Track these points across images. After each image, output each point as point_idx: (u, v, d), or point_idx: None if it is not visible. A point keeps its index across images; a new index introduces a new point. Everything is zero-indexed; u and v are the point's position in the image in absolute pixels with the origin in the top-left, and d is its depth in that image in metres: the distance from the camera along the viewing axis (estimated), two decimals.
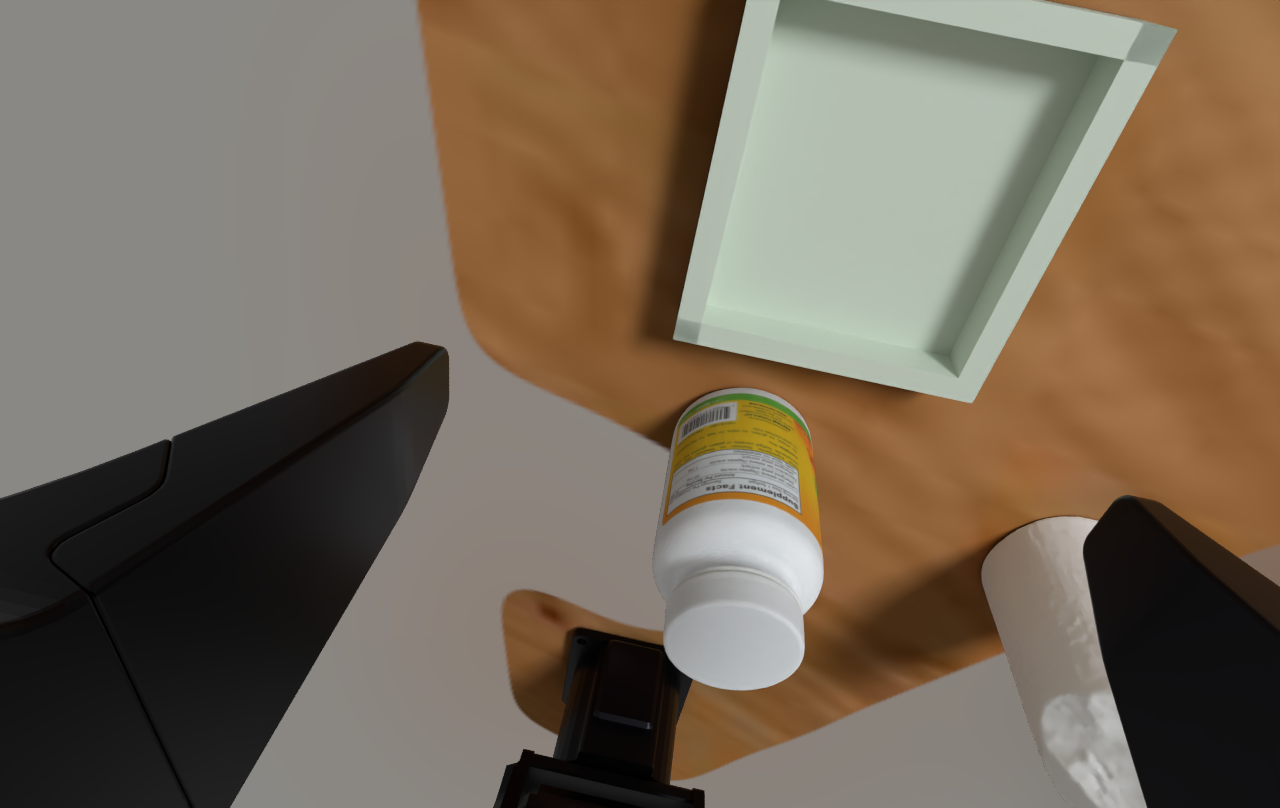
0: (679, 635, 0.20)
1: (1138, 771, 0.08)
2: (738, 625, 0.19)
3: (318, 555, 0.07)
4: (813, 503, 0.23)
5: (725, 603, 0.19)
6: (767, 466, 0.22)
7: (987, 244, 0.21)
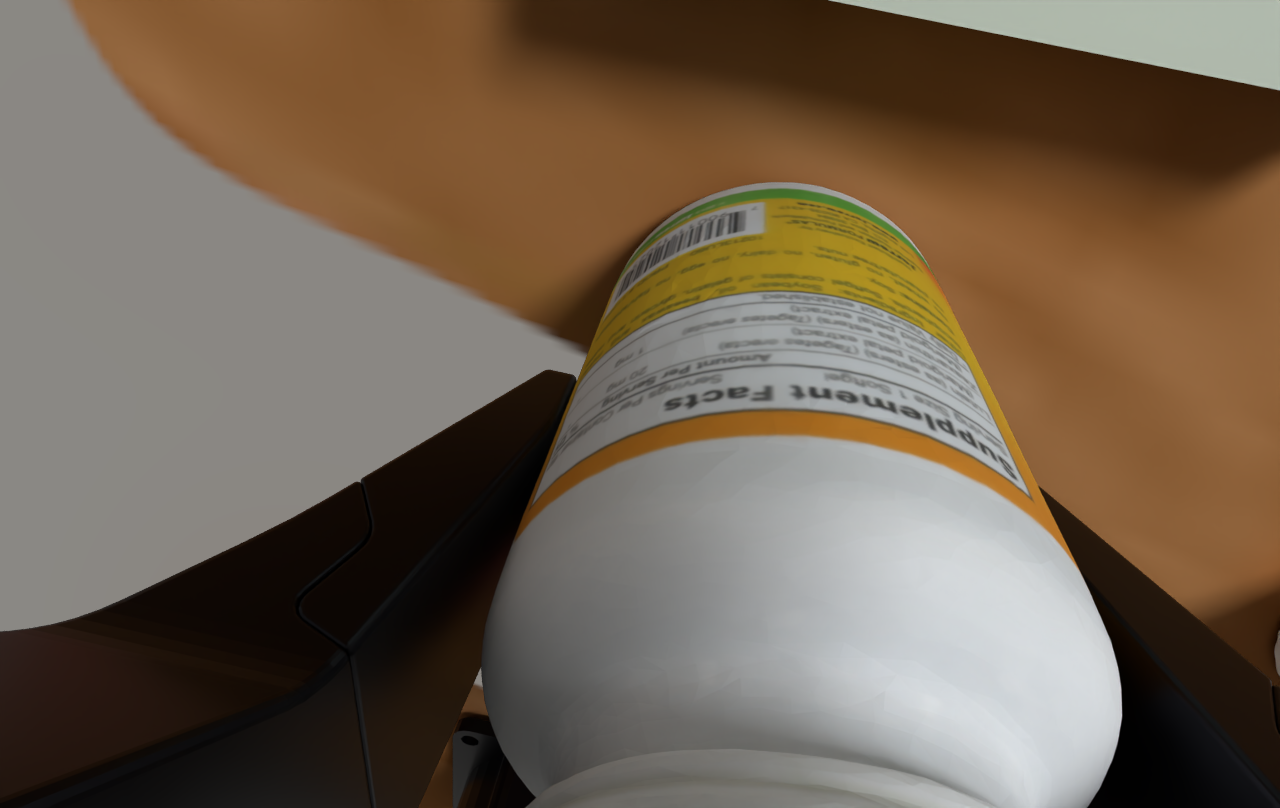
0: None
1: None
2: None
3: (483, 592, 0.07)
4: (1027, 466, 0.07)
5: None
6: (881, 335, 0.06)
7: None
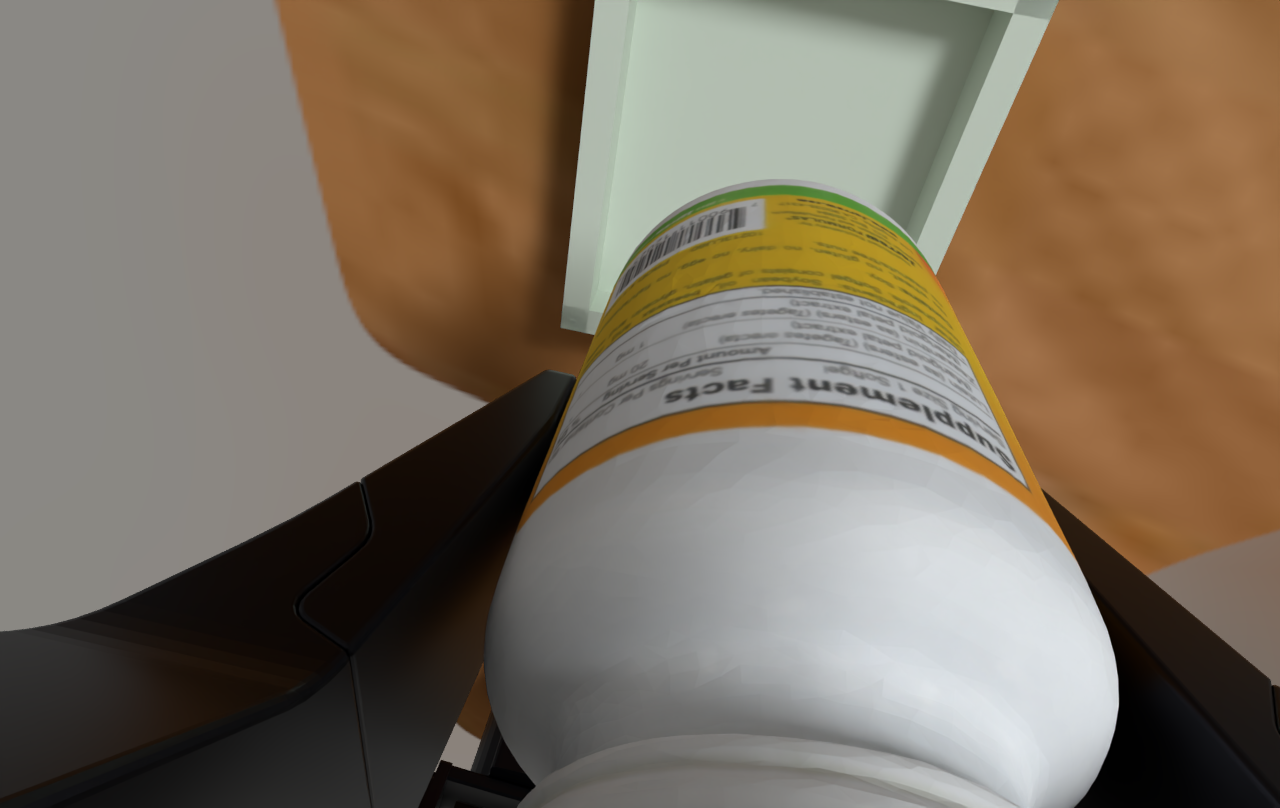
0: None
1: None
2: None
3: (483, 592, 0.07)
4: (1025, 459, 0.07)
5: None
6: (880, 328, 0.06)
7: None
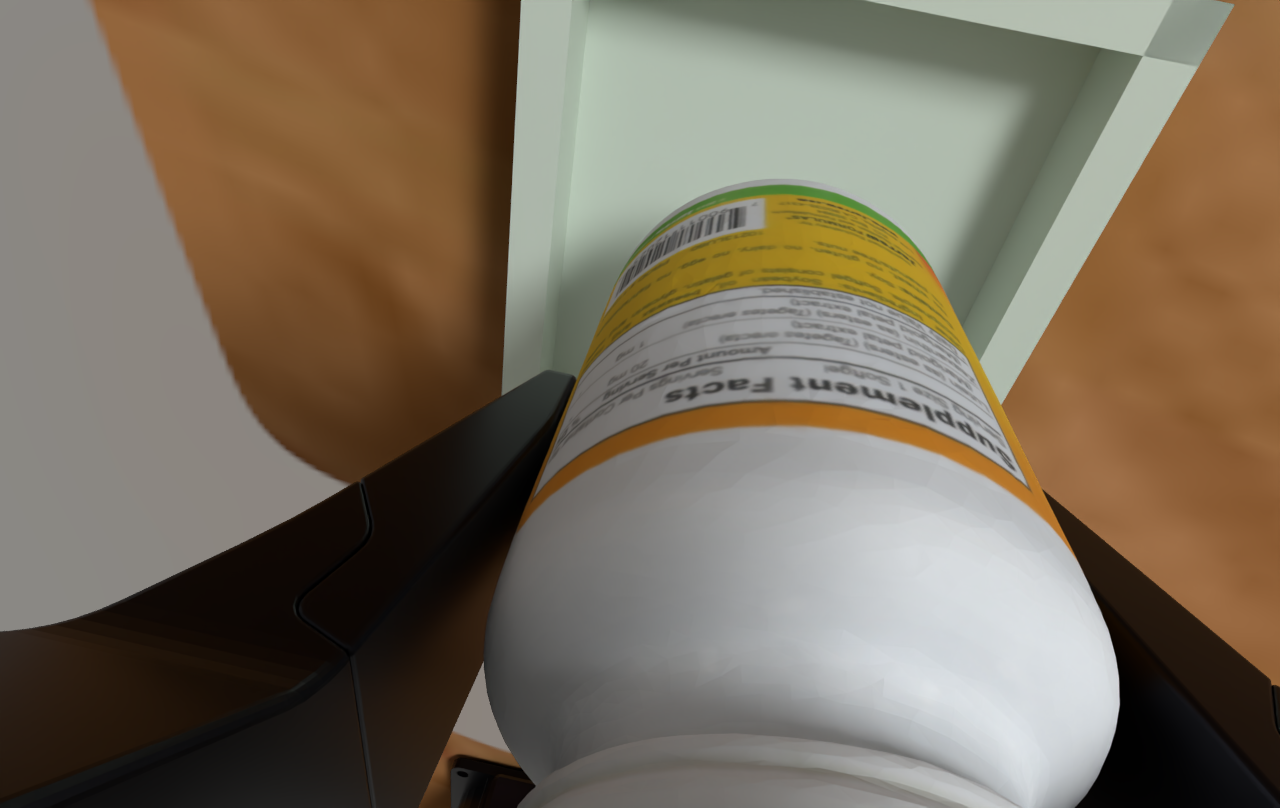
0: None
1: None
2: None
3: (483, 592, 0.07)
4: (1026, 459, 0.07)
5: None
6: (880, 328, 0.06)
7: None
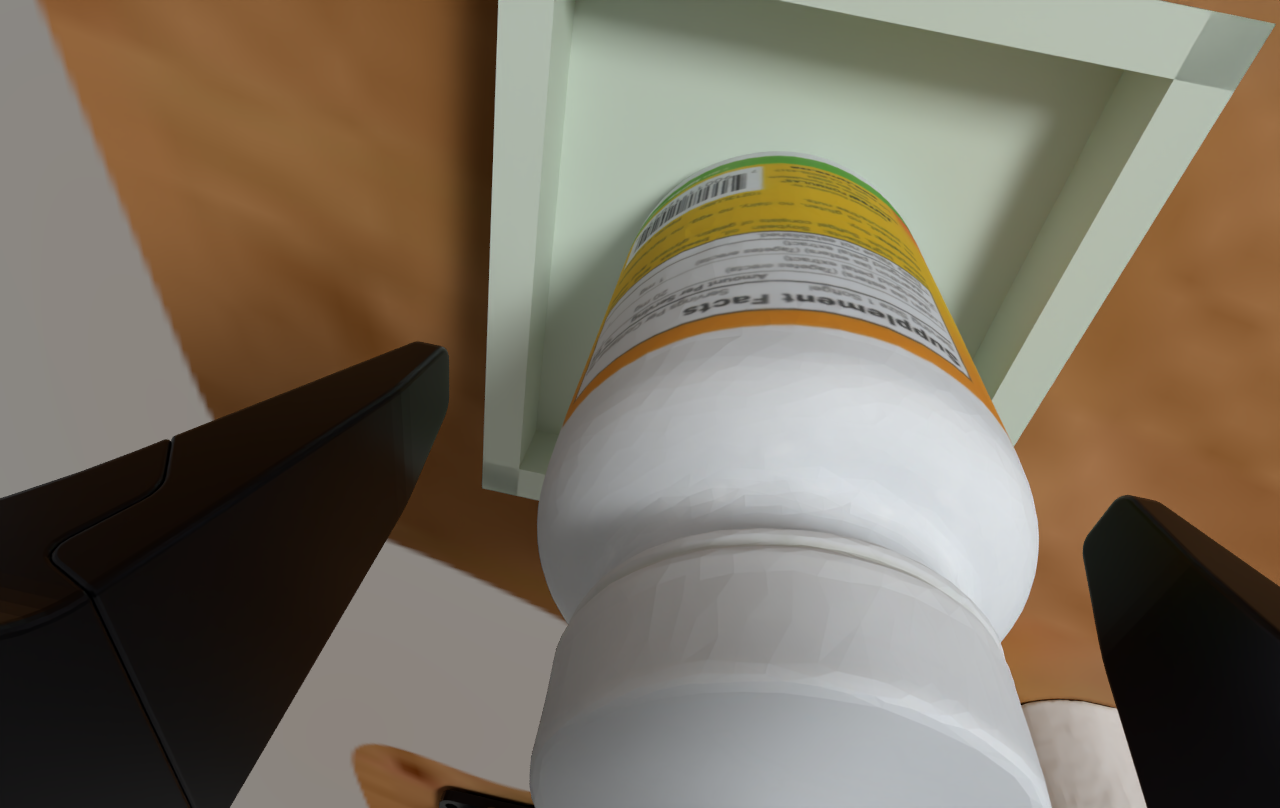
0: (581, 784, 0.05)
1: (1138, 771, 0.08)
2: (803, 762, 0.05)
3: (317, 555, 0.07)
4: (977, 371, 0.08)
5: (751, 679, 0.04)
6: (856, 262, 0.08)
7: None
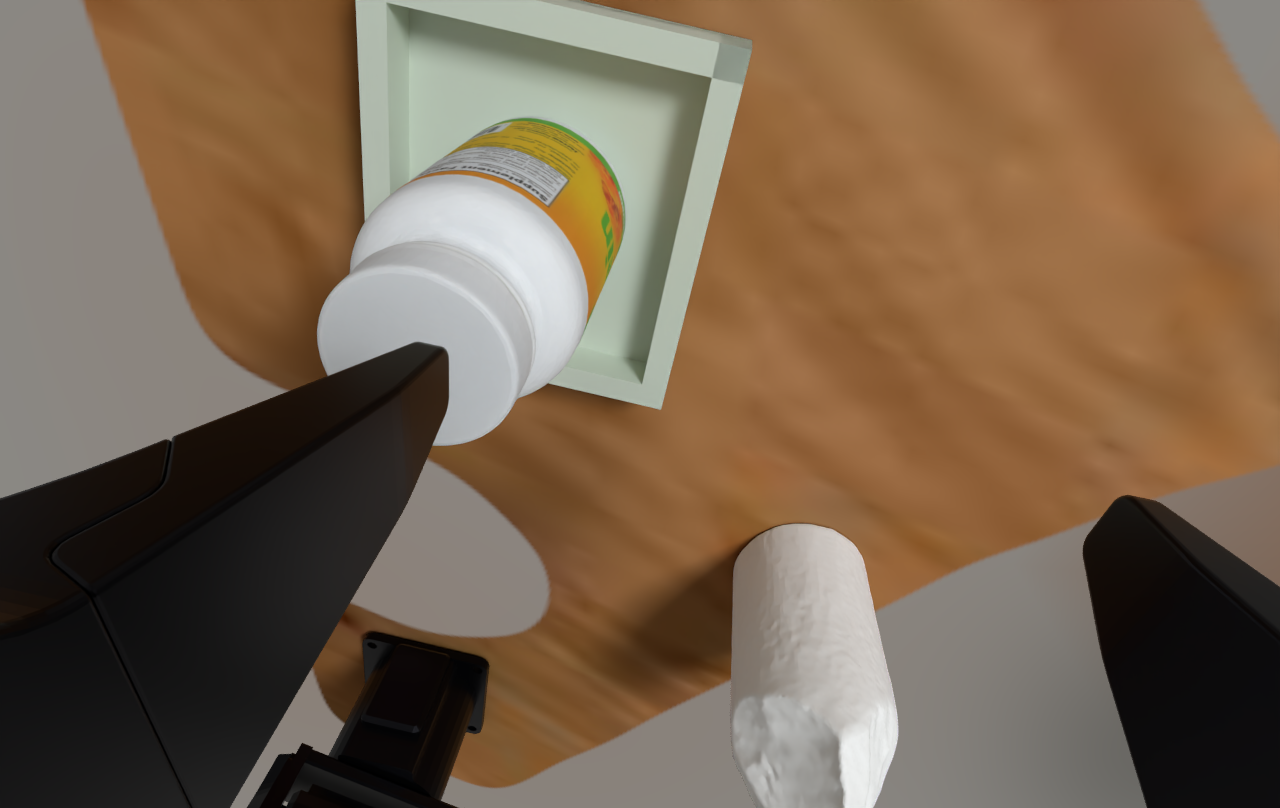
0: (336, 341, 0.13)
1: (1138, 772, 0.08)
2: (410, 313, 0.13)
3: (317, 555, 0.07)
4: (585, 218, 0.16)
5: (380, 268, 0.12)
6: (517, 159, 0.16)
7: (656, 254, 0.22)
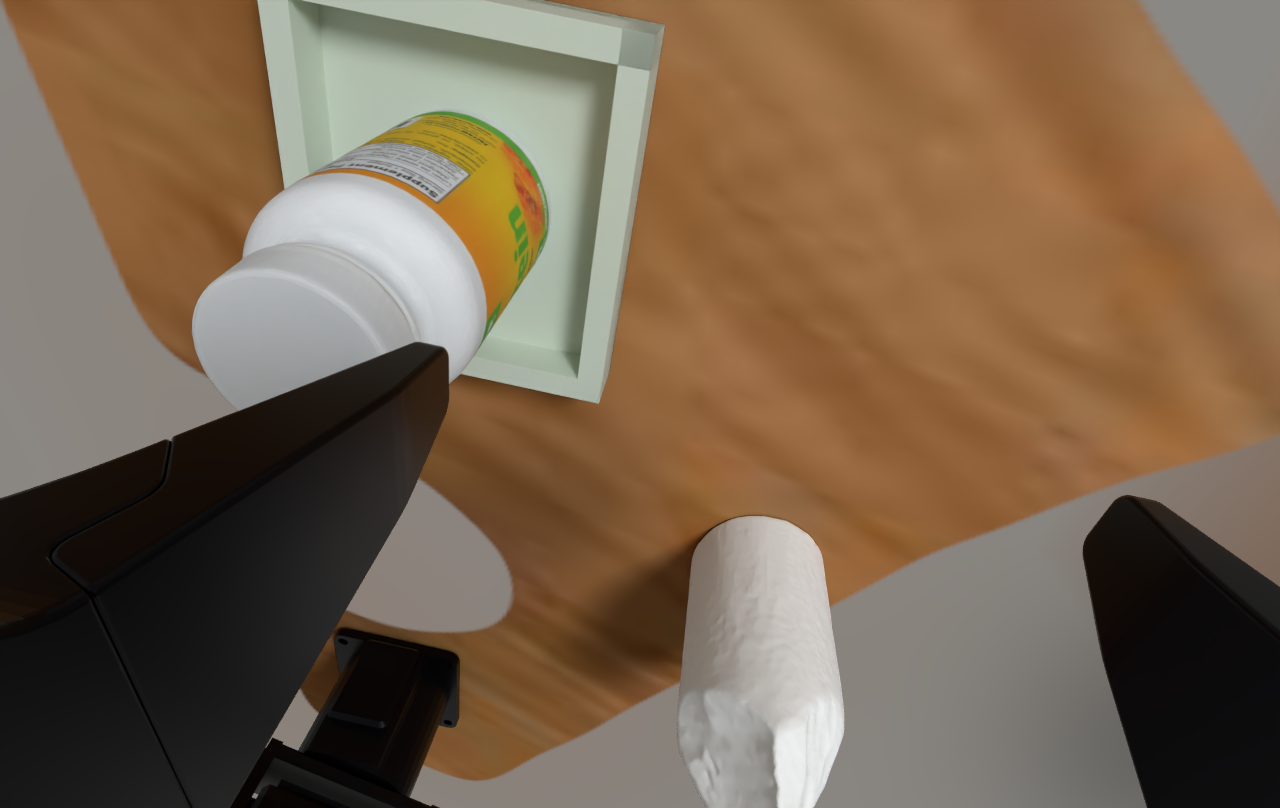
0: (212, 346, 0.13)
1: (1139, 772, 0.08)
2: (279, 316, 0.13)
3: (318, 555, 0.07)
4: (485, 213, 0.16)
5: (243, 272, 0.12)
6: (412, 155, 0.16)
7: (585, 246, 0.21)
